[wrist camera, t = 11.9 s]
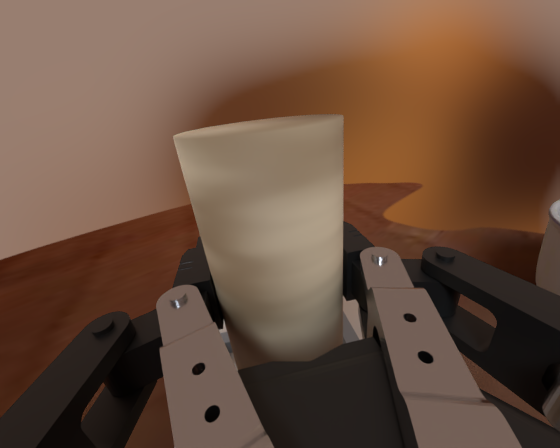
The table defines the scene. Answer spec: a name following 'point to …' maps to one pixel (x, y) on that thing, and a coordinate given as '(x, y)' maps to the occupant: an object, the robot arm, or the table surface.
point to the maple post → (272, 231)
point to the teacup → (550, 253)
